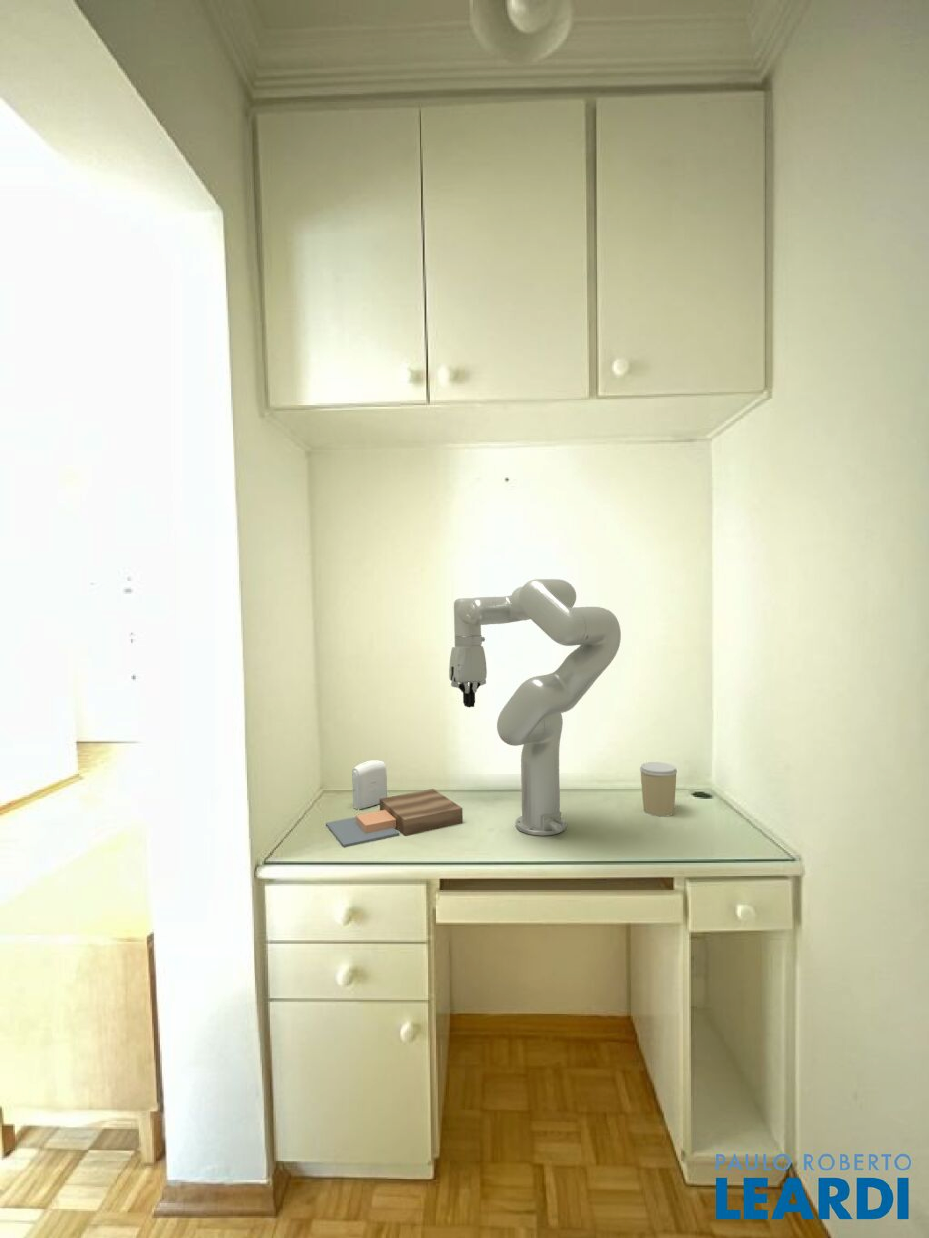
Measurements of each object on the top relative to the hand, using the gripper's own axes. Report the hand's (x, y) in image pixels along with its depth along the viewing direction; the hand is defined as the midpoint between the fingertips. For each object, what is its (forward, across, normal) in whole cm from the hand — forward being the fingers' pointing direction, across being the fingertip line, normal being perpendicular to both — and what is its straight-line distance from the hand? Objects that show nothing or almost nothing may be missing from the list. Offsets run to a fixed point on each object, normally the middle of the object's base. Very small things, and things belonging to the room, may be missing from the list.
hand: (469, 706), depth 171 cm
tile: (+26, +30, +5) cm, 41 cm away
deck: (+27, +18, +5) cm, 33 cm away
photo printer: (+27, +26, -12) cm, 40 cm away
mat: (+27, +34, +5) cm, 44 cm away
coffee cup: (+27, -39, +33) cm, 58 cm away
